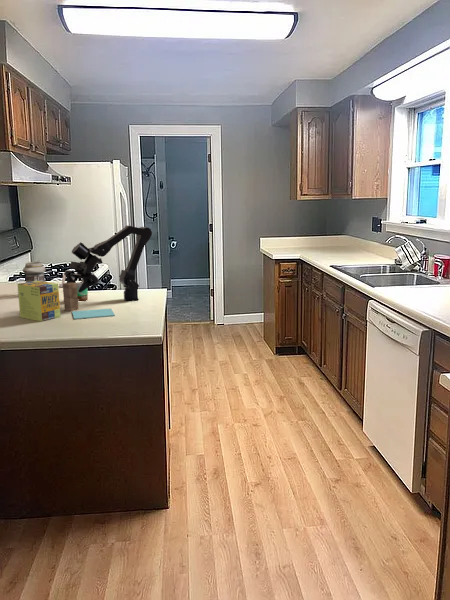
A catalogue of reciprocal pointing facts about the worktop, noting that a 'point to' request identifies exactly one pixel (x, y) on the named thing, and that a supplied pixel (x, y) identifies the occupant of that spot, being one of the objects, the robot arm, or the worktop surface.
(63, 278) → the portable electronic device stand
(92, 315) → the teal mat
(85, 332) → the worktop surface
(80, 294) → the food container
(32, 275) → the apothecary jar
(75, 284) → the walnut block
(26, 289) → the protein box
